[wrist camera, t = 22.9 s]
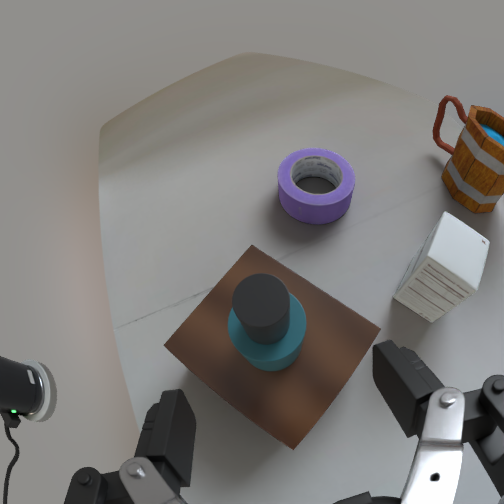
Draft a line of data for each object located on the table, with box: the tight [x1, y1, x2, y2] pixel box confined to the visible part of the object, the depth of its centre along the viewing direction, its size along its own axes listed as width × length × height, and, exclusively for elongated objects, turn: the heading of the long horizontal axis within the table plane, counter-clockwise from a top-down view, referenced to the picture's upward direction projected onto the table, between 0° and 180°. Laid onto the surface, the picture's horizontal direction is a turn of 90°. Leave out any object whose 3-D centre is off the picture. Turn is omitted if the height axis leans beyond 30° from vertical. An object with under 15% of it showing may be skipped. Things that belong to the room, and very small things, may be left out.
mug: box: [433, 95, 504, 213], centre depth 39 cm, size 20×14×15 cm
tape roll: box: [278, 148, 355, 224], centre depth 44 cm, size 12×12×5 cm
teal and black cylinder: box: [228, 273, 307, 371], centre depth 21 cm, size 6×6×12 cm
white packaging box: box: [393, 211, 490, 323], centre depth 31 cm, size 7×7×13 cm
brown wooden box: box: [164, 245, 381, 450], centre depth 31 cm, size 14×16×10 cm
